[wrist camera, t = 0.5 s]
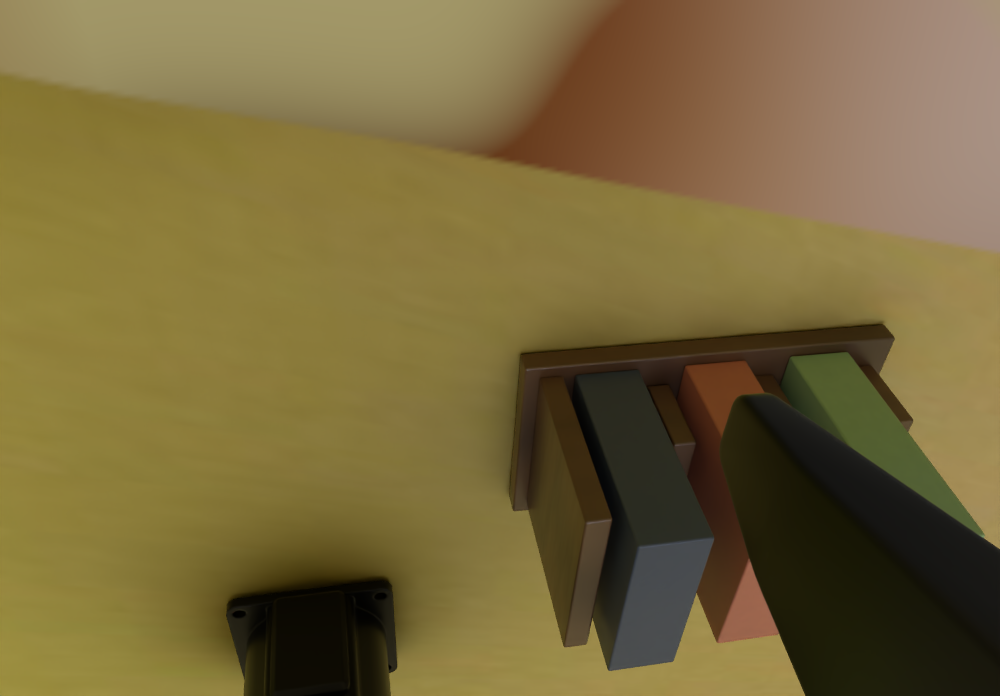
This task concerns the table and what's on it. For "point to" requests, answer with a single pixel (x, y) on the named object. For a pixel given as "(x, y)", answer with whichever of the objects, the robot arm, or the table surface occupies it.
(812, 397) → the sage-green book
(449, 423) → the table surface
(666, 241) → the table surface
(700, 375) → the terracotta book
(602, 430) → the navy book
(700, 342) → the book rack
